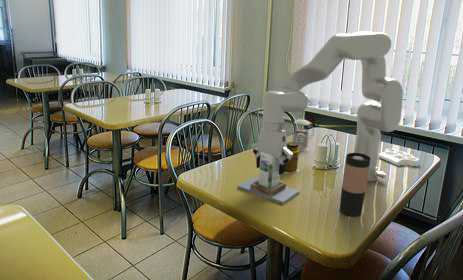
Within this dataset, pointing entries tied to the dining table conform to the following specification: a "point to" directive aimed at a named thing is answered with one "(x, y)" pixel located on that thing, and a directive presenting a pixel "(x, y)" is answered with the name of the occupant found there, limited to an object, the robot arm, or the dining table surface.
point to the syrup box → (269, 171)
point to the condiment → (292, 164)
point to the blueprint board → (279, 197)
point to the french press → (304, 139)
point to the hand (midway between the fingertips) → (270, 170)
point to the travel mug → (354, 184)
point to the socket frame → (266, 190)
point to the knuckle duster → (398, 157)
